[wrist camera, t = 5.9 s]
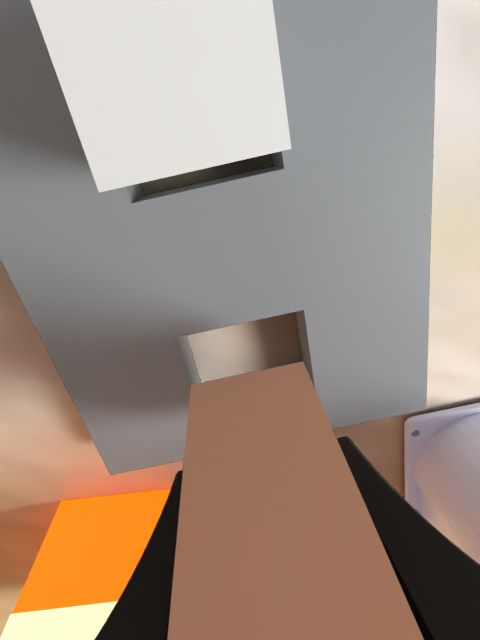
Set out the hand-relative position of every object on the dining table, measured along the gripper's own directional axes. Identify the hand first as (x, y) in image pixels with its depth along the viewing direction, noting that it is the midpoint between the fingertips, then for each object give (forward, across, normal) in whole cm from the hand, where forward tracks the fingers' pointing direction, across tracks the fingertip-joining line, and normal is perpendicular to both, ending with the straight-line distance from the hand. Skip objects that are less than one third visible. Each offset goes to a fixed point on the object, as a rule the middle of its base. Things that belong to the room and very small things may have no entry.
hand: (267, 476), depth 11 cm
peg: (+2, 0, 0) cm, 3 cm away
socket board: (+8, 0, -6) cm, 10 cm away
